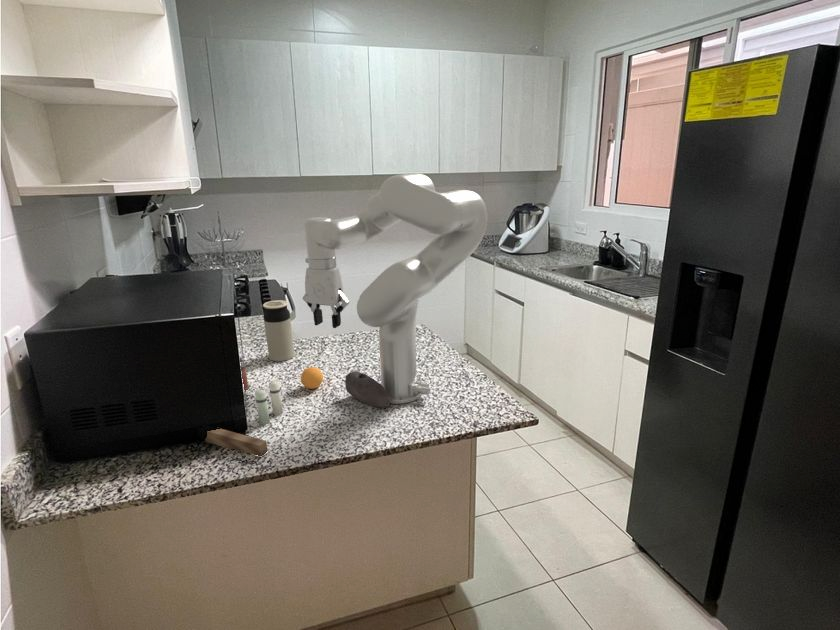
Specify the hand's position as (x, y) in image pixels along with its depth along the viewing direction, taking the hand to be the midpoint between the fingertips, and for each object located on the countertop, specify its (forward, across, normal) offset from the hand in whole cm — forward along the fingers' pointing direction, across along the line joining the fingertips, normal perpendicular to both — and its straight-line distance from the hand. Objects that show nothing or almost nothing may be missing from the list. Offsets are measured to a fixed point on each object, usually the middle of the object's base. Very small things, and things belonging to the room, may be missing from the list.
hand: (327, 324), depth 139 cm
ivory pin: (+15, 0, -24) cm, 29 cm away
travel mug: (+16, -22, +4) cm, 27 cm away
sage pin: (+15, 0, -30) cm, 33 cm away
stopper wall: (+15, 0, -40) cm, 43 cm away
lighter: (+16, -20, -18) cm, 31 cm away
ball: (+12, 0, -10) cm, 16 cm away
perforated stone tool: (+16, +19, -11) cm, 27 cm away
